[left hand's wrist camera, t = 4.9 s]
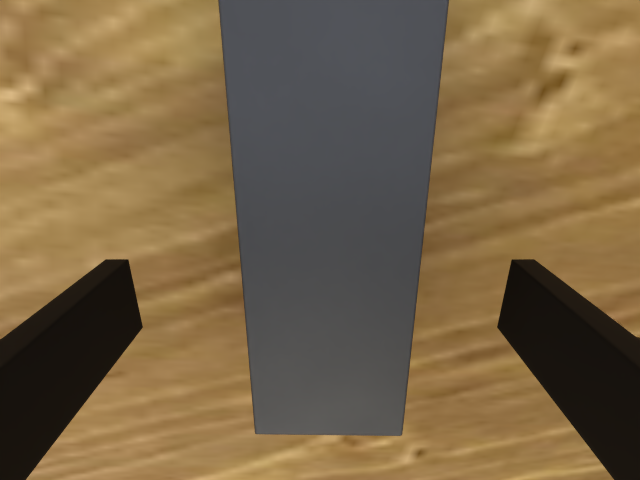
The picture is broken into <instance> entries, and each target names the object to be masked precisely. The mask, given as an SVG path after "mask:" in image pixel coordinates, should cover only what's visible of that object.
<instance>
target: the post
mask: <svg viewBox="0 0 640 480" xmlns="http://www.w3.org/2000/svg"><path fill="white" fill-rule="evenodd" d="M218 1H219V13H220V25H221V36H222V48H223V60H224V72H225V84H226V95H227V107H228V119H229V131H230V143H231V154H232V166H233V178H234V190H235V202H236V213H237V225H238V237H239V249H240V261H241V272H242V284H243V296H244V308H245V320H246V331H247V343H248V355H249V367H250V379H251V390H252V402H253V414H254V426H255V433H256V434H288V435H374V436H401V435H402V431H403V421H404V412H405V403H406V394H407V384H408V375H409V366H410V357H411V347H412V338H413V329H414V319H415V310H416V301H417V292H418V282H419V273H420V264H421V254H422V245H423V236H424V227H425V217H426V208H427V199H428V190H429V180H430V171H431V162H432V152H433V143H434V134H435V125H436V115H437V106H438V97H439V87H440V78H441V69H442V60H443V50H444V41H445V32H446V23H447V13H448V4H449V0H218Z"/></svg>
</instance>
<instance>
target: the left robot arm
mask: <svg viewBox="0 0 640 480" xmlns="http://www.w3.org/2000/svg"><path fill="white" fill-rule="evenodd" d="M142 328H143V326H142V322H141V317H140V312H139V308H138V303H137V298H136V294H135V289H134V284H133V280H132V275H131V270H130V266H129V261H128V260H105V261H103V262H102V263H101V264H99V265H98V266H97V267H95V268H94V269H93V270H91V271H90V272H89V273H87V274H86V275H85V276H84V277H82V278H81V279H80V280H78V281H77V282H76V283H74V284H73V285H72V286H70V287H69V288H68V289H66V290H65V291H64V292H63V293H61V294H60V295H59V296H57V297H56V298H55V299H53V300H52V301H51V302H49V303H48V304H47V305H45V306H44V307H43V308H41V309H40V310H39V311H38V312H36V313H35V314H34V315H32V316H31V317H30V318H28V319H27V320H26V321H24V322H23V323H22V324H20V325H19V326H18V327H17V328H15V329H14V330H13V331H11V332H10V333H9V334H7V335H6V336H5V337H3V338H2V339H0V480H26V479H27V477H28V476H29V475H30V473H31V472H32V471H33V470H34V468H35V467H36V466H37V464H38V463H39V462H40V460H41V459H42V458H43V456H44V455H45V454H46V453H47V451H48V450H49V449H50V447H51V446H52V445H53V443H54V442H55V441H56V440H57V438H58V437H59V436H60V434H61V433H62V432H63V430H64V429H65V428H66V427H67V425H68V424H69V423H70V421H71V420H72V419H73V417H74V416H75V415H76V414H77V412H78V411H79V410H80V408H81V407H82V406H83V404H84V403H85V402H86V401H87V399H88V398H89V397H90V395H91V394H92V393H93V391H94V390H95V389H96V387H97V386H98V385H99V384H100V382H101V381H102V380H103V378H104V377H105V376H106V374H107V373H108V372H109V371H110V369H111V368H112V367H113V365H114V364H115V363H116V361H117V360H118V359H119V358H120V356H121V355H122V354H123V352H124V351H125V350H126V348H127V347H128V346H129V345H130V343H131V342H132V341H133V339H134V338H135V337H136V335H137V334H138V333H139V331H140V330H141V329H142ZM497 328H498V329H499V330H500V331H501V333H502V334H503V335H504V337H505V338H506V339H507V341H508V342H509V343H510V345H511V346H512V347H513V348H514V350H515V351H516V352H517V354H518V355H519V356H520V358H521V359H522V360H523V361H524V363H525V364H526V365H527V367H528V368H529V369H530V371H531V372H532V373H533V374H534V376H535V377H536V378H537V380H538V381H539V382H540V384H541V385H542V386H543V387H544V389H545V390H546V391H547V393H548V394H549V395H550V397H551V398H552V399H553V401H554V402H555V403H556V404H557V406H558V407H559V408H560V410H561V411H562V412H563V414H564V415H565V416H566V417H567V419H568V420H569V421H570V423H571V424H572V425H573V427H574V428H575V429H576V430H577V432H578V433H579V434H580V436H581V437H582V438H583V440H584V441H585V442H586V443H587V445H588V446H589V447H590V449H591V450H592V451H593V453H594V454H595V455H596V456H597V458H598V459H599V460H600V462H601V463H602V464H603V466H604V467H605V468H606V470H607V471H608V472H609V473H610V475H611V476H612V477H613V479H614V480H640V338H639V337H635V336H634V335H633V334H631V333H630V332H629V331H627V330H626V329H625V328H623V327H622V326H621V325H620V324H618V323H617V322H616V321H614V320H613V319H612V318H610V317H609V316H608V315H606V314H605V313H604V312H602V311H601V310H600V309H599V308H597V307H596V306H595V305H593V304H592V303H591V302H589V301H588V300H587V299H585V298H584V297H583V296H581V295H580V294H579V293H577V292H576V291H575V290H574V289H572V288H571V287H570V286H568V285H567V284H566V283H564V282H563V281H562V280H560V279H559V278H558V277H556V276H555V275H554V274H553V273H551V272H550V271H549V270H547V269H546V268H545V267H543V266H542V265H541V264H539V263H538V262H537V261H535V260H512V261H511V266H510V270H509V275H508V280H507V284H506V289H505V294H504V298H503V303H502V308H501V312H500V317H499V322H498V326H497Z"/></svg>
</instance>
